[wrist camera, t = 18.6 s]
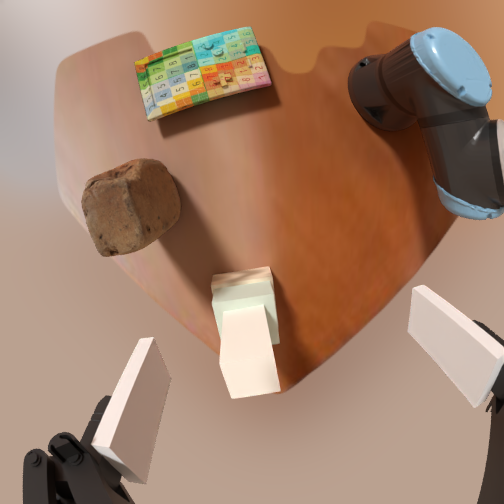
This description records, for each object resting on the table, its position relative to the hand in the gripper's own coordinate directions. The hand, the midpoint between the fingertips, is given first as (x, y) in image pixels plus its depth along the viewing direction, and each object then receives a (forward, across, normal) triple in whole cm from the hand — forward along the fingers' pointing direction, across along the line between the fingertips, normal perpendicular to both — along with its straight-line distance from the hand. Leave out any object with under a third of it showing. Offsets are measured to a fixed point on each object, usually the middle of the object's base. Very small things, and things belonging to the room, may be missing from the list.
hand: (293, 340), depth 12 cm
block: (+35, +15, -7) cm, 39 cm away
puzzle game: (+35, +4, -26) cm, 44 cm away
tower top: (+30, +4, +14) cm, 33 cm away
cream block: (+25, +4, +14) cm, 29 cm away
